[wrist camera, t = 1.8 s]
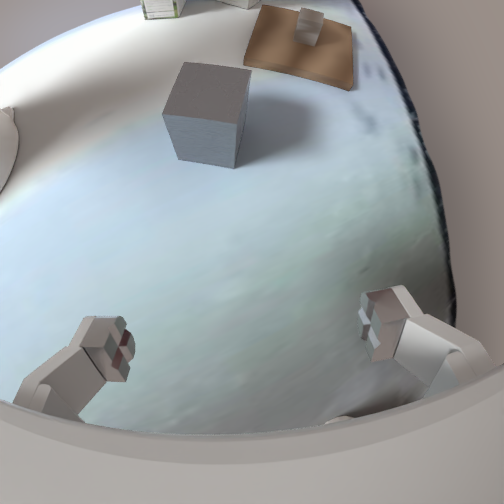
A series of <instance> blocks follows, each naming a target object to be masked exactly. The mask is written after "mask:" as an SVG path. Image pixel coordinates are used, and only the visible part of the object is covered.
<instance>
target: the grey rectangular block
mask: <svg viewBox="0 0 504 504" xmlns="http://www.w3.org/2000/svg"><path fill="white" fill-rule="evenodd" d="M251 71H252V70H246V69H240V68H234V67H226V66H219V65H210V64H201V63H189V62H184V64H183V66H182V68H181V70H180V73H179V75H178V77H177V79H176V82H175V84H174V86H173V89H172V91H171V93H170V96H169V98H168V101H167V103H166V106H165V108H164V111H163V113H162V115H163V118H164V121H165V124H166V127H167V129H168V132H169V135H170V138H171V141H172V143H173V146H174V149H175V152H176V154H177V157H178V160H184V161H191V162H197V163H203V164H209V165H215V166H221V167H226V168H231V169H234V166H235V162H236V157H237V153H238V149H239V145H240V140H241V136H242V132H243V128H244V124H245V118H246V110H247V102H248V94H249V86H250V78H251Z"/></svg>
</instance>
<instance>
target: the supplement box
mask: <svg viewBox="0 0 504 504" xmlns="http://www.w3.org/2000/svg"><path fill="white" fill-rule="evenodd" d="M216 1H220V2H224V3H227V4H231V5H235V6H238V7H241V8H244V9H249V8H251V7H252V6H253V5H255V4H256V3H257V2H259V1H260V0H216Z"/></svg>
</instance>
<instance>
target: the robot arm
mask: <svg viewBox="0 0 504 504" xmlns="http://www.w3.org/2000/svg"><path fill="white" fill-rule="evenodd" d="M13 119H14V110H13V109H12V108H11V107H6V108H3V109H0V191H1V190H2V188H3V186H4V185H5V183H6V181H7V179H8V177H9V175H10V172H11V170H12V167H13V165H14V162H15V158H16V155H17V150H18V143H19V135H18V130H17V127H16V126H15V124H14V121H13ZM360 304H361V306H362V308H361V309H360V310H359V311H358V316H357V326H358V331H359V334H360V337H361V338H362V339H363V340H365V341H366V346H365V349H366V351H367V354H368V356H369V359H370V361H371V362H375V361H380V360H384V359H389V358H393V359H394V360H396V361H397V362H398V363H399V364H401V365H402V366H403V367H404V368H406V369H407V370H408V371H409V372H411V373H412V374H413V375H414V376H416V377H417V378H418V379H419V380H421V381H422V382H423V383H424V384H425V385H427V386H428V387H429V389H428V390H427V392H426V394H425V395H424V397H423V399H421V400H418V401H415V402H412V403H409V404H406V405H402V406H399V407H396V408H392V409H389V410H385V411H382V412H378V413H374V414H370V415H366V416H362V417H358V418H353V419H349V420H344V421H339V422H334V423H329V424H323V425H318V426H311V427H305V428H298V429H290V430H282V431H272V432H261V433H247V434H223V435H189V434H166V433H153V432H142V431H133V430H124V429H117V428H110V427H104V426H98V425H93V424H87V423H85V422H84V421H83V420H82V419H81V418H80V417H79V416H78V414H79V413H80V412H81V410H82V409H83V408H84V407H85V406H86V405H87V404H88V402H89V401H90V400H91V399H92V398H93V397H94V396H95V395H96V393H97V392H98V391H99V390H100V389H101V388H102V387H103V386H104V385H105V383H106V381H111V382H126V380H127V377H128V373H129V370H130V366H129V364H128V362H130V361H131V360H132V359H133V357H134V354H135V342H134V338H133V336H132V334H131V333H130V332H129V331H128V330H126V329H125V328H126V325H127V324H126V322H125V320H124V318H123V317H121V316H86V317H85V318H83V320H82V322H81V324H80V325H79V327H78V329H77V331H76V333H75V335H74V337H73V338H72V340H71V342H70V344H69V346H68V347H64V348H63V349H61V350H60V351H59V352H57V353H56V354H55V355H54V356H52V357H51V358H50V359H48V360H47V361H46V362H45V363H43V364H42V365H41V366H39V367H38V368H37V369H36V370H34V371H33V372H32V373H31V374H29V375H28V376H27V377H26V378H24V380H23V382H22V384H21V386H20V388H19V390H18V392H17V394H16V396H15V399H14V401H13V403H10V402H7V401H4V400H2V399H0V504H504V364H502V365H500V366H498V367H496V365H495V364H494V362H493V361H492V359H491V358H490V356H489V354H488V353H487V351H486V350H485V348H484V347H483V346H482V344H481V342H480V341H478V340H476V339H474V338H473V337H470V336H469V335H467V334H465V333H463V332H461V331H459V330H458V329H456V328H454V327H452V326H450V325H448V324H446V323H444V322H442V321H440V320H439V319H437V318H435V317H433V316H431V315H429V314H423V312H422V311H421V309H420V308H419V306H418V305H417V304H416V302H415V301H414V299H413V298H412V296H411V295H410V293H409V292H408V291H407V289H406V288H405V287H404V286H403V285H398V286H393V287H389V288H384V289H379V290H373V291H367V292H362V294H361V296H360Z"/></svg>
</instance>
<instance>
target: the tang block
mask: <svg viewBox="0 0 504 504" xmlns="http://www.w3.org/2000/svg"><path fill="white" fill-rule="evenodd" d="M323 16H324V13H321V12H317V11H313V10H310V9H306V8H301V10H300V12H298V11H293V10H289V9H284V8H279V7H274V6H268V5H262V7H261V10H260V13H259V16H258V18H257V21H256V24H255V27H254V30H253V33H252V36H251V38H250V41H249V44H248V47H247V50H246V53H245V56H244V64H243V65H245V66H251V67H256V68H262V69H267V70H272V71H277V72H281V73H286V74H290V75H294V76H298V77H302V78H306V79H310V80H314V81H317V82H321V83H324V84H328V85H331V86H334V87H338V88H341V89H344V90H347V91H349V90H350V89H351V87H352V86H353V54H352V32H351V27H350V26H347V25H344V24H341V23H338V22H335V21H331V20H328V19H325V18H323Z"/></svg>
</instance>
